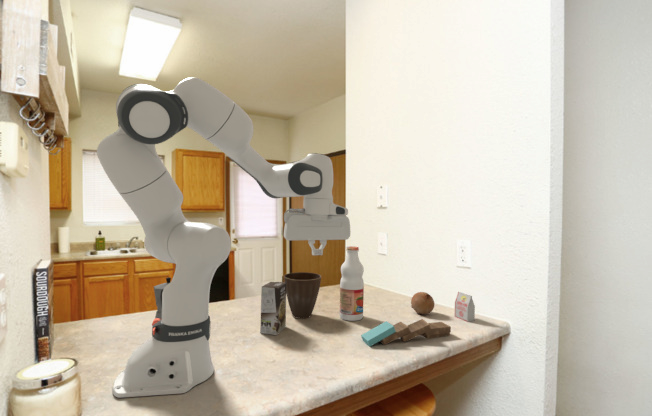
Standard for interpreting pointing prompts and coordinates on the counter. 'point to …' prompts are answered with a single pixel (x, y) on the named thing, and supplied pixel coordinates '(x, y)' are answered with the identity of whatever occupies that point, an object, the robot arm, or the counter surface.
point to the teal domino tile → (378, 333)
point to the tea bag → (464, 307)
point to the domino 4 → (434, 335)
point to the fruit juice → (351, 286)
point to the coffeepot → (160, 297)
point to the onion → (422, 303)
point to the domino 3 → (438, 328)
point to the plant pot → (302, 292)
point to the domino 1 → (396, 333)
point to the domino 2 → (416, 330)
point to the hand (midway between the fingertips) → (317, 255)
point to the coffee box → (273, 308)
